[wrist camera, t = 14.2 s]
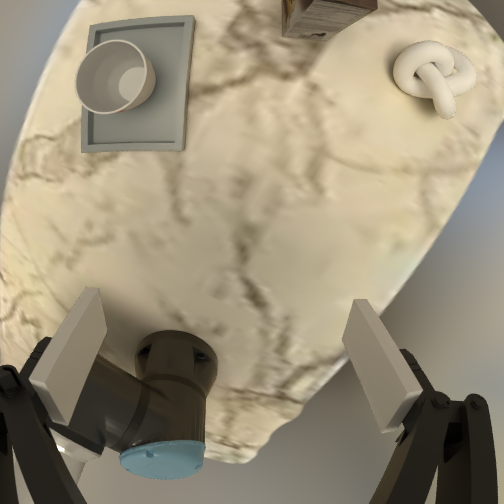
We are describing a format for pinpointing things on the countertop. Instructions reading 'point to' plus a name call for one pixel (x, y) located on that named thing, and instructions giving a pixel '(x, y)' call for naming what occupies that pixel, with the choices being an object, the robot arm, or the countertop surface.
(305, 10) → the coffee box
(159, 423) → the robot arm
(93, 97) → the cup
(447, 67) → the white decorative knot
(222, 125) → the countertop surface
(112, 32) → the tray
